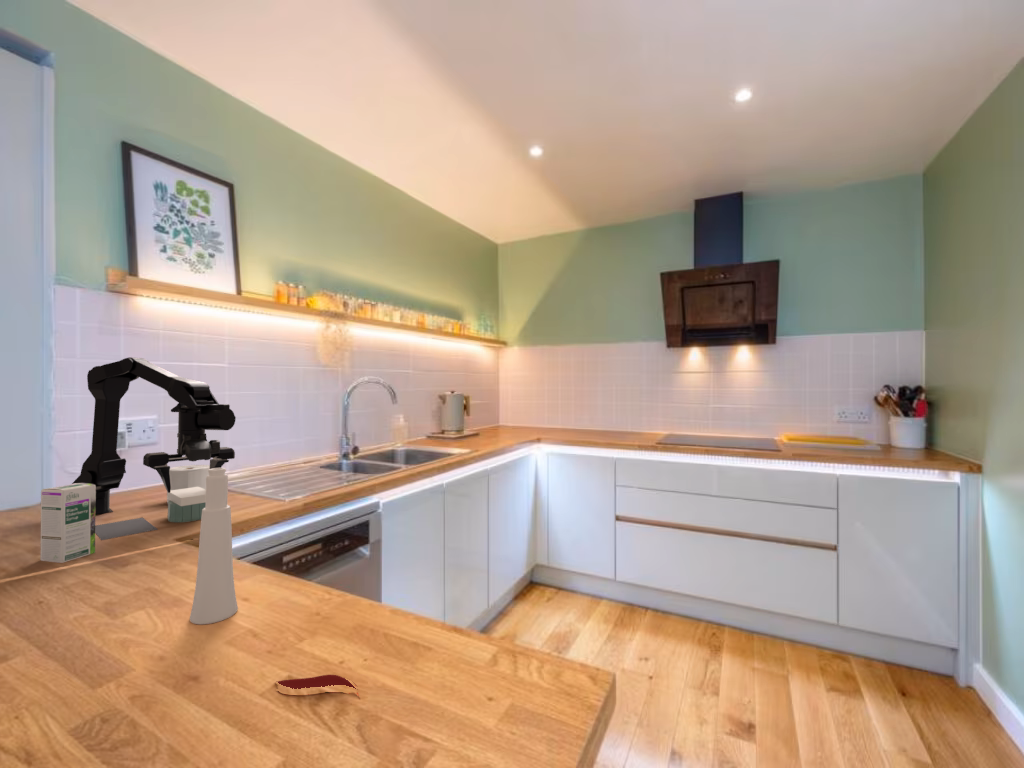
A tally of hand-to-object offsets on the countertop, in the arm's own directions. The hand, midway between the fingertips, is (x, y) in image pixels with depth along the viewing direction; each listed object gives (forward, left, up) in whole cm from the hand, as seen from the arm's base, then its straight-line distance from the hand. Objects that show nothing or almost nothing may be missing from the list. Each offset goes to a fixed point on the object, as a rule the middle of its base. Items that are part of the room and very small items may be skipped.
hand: (190, 489), depth 115 cm
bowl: (0, 0, -8) cm, 8 cm away
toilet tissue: (-22, +6, -8) cm, 24 cm away
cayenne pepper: (+89, -11, -8) cm, 90 cm away
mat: (-1, -13, -8) cm, 15 cm away
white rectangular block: (0, 0, -3) cm, 3 cm away
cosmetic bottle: (+61, -13, -8) cm, 63 cm away
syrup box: (+14, -24, -8) cm, 29 cm away
